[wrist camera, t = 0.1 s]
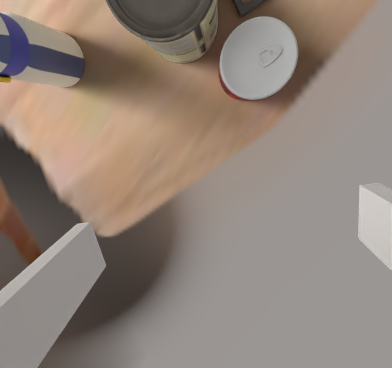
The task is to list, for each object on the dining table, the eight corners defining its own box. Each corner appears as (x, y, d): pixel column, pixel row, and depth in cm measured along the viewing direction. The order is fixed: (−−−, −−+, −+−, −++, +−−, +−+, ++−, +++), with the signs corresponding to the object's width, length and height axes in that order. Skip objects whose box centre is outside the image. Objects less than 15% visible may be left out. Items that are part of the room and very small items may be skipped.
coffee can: (137, -13, 32) (81, -92, 19) (212, -31, 31) (209, -130, 18) (153, 70, 36) (115, 51, 22) (222, 56, 34) (226, 28, 21)
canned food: (285, 71, 34) (315, 58, 24) (242, 112, 36) (252, 116, 26) (250, 28, 33) (265, -6, 22) (207, 73, 35) (204, 60, 25)
